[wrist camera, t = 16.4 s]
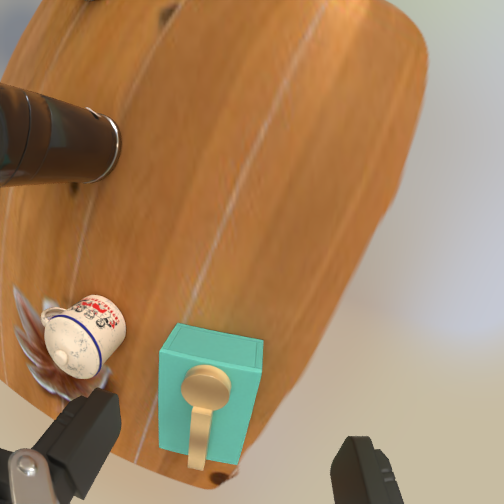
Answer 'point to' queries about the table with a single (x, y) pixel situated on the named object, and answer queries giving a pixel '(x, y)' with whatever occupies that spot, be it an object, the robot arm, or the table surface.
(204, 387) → the spoon
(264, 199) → the table surface
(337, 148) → the table surface
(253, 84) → the table surface
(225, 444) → the lunchbox lid
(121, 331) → the teacup with lid
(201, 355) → the box
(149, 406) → the table surface
